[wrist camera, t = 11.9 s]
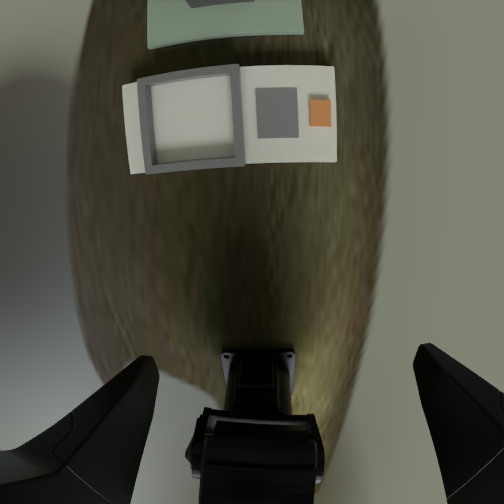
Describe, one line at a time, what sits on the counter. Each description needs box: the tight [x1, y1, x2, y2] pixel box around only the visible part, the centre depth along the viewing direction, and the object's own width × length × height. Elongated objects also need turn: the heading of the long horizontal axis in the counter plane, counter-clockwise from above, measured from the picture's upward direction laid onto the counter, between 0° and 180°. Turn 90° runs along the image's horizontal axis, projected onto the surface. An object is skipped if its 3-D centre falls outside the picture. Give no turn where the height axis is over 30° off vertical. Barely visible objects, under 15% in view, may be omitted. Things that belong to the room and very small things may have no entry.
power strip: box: [122, 64, 337, 175], centre depth 16 cm, size 6×13×2 cm, turn 93°
